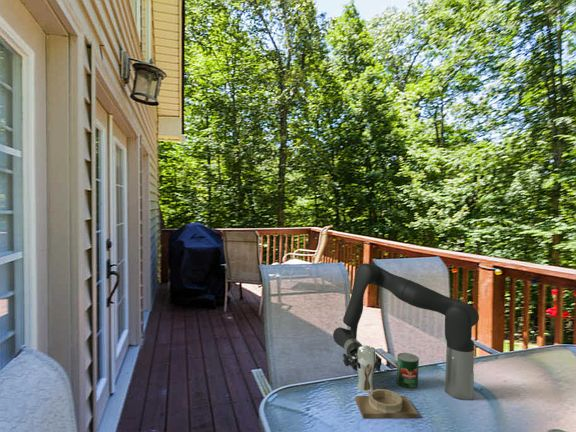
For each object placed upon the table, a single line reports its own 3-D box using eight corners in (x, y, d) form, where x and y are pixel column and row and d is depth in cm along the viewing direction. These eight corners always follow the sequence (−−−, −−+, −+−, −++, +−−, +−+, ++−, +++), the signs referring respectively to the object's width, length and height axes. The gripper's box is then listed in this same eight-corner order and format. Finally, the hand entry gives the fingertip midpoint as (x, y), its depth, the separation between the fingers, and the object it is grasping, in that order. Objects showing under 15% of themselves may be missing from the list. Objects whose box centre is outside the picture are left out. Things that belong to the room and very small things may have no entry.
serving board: (405, 400, 128) (405, 388, 128) (417, 418, 117) (418, 405, 117) (355, 400, 127) (355, 388, 127) (363, 418, 116) (363, 406, 116)
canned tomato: (405, 391, 134) (406, 362, 133) (392, 381, 141) (393, 354, 141) (422, 388, 137) (423, 359, 136) (408, 378, 144) (409, 351, 144)
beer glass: (375, 394, 131) (376, 353, 131) (355, 391, 133) (357, 351, 132) (374, 385, 138) (375, 346, 138) (356, 382, 139) (357, 344, 139)
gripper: (338, 342, 149) (349, 358, 133) (371, 341, 150) (386, 357, 134) (338, 360, 149) (348, 378, 133) (371, 359, 150) (385, 377, 134)
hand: (367, 368), depth 133 cm, fingers open, 8 cm apart
